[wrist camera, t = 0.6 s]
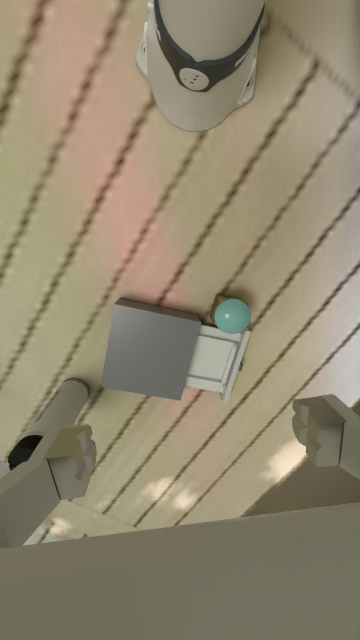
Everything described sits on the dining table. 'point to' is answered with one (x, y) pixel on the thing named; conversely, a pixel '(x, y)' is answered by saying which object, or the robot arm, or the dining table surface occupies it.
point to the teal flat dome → (232, 315)
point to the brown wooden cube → (216, 302)
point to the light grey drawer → (216, 360)
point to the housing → (149, 349)
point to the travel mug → (51, 418)
